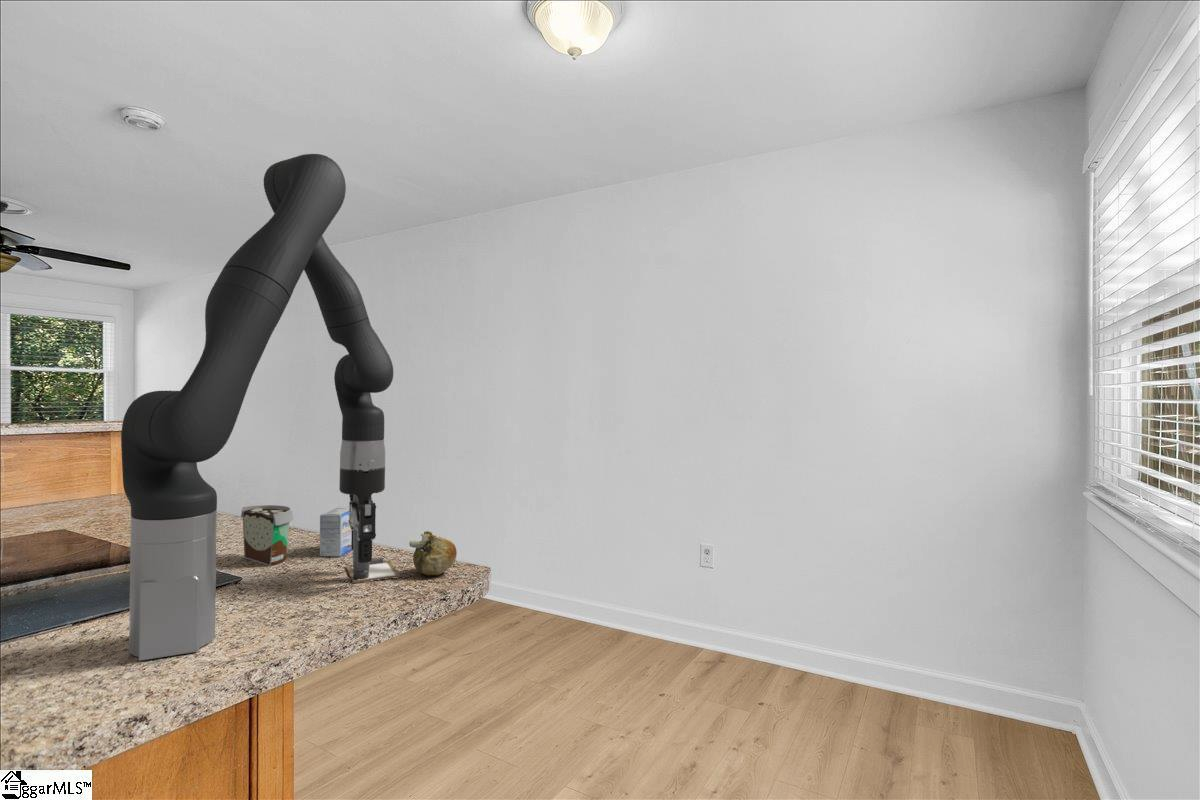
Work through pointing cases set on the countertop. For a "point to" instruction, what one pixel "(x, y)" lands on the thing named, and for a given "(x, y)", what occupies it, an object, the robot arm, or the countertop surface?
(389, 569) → the clipboard
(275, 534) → the food container
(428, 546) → the onion
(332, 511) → the medicine box
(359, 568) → the marker
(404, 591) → the countertop surface
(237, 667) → the countertop surface
